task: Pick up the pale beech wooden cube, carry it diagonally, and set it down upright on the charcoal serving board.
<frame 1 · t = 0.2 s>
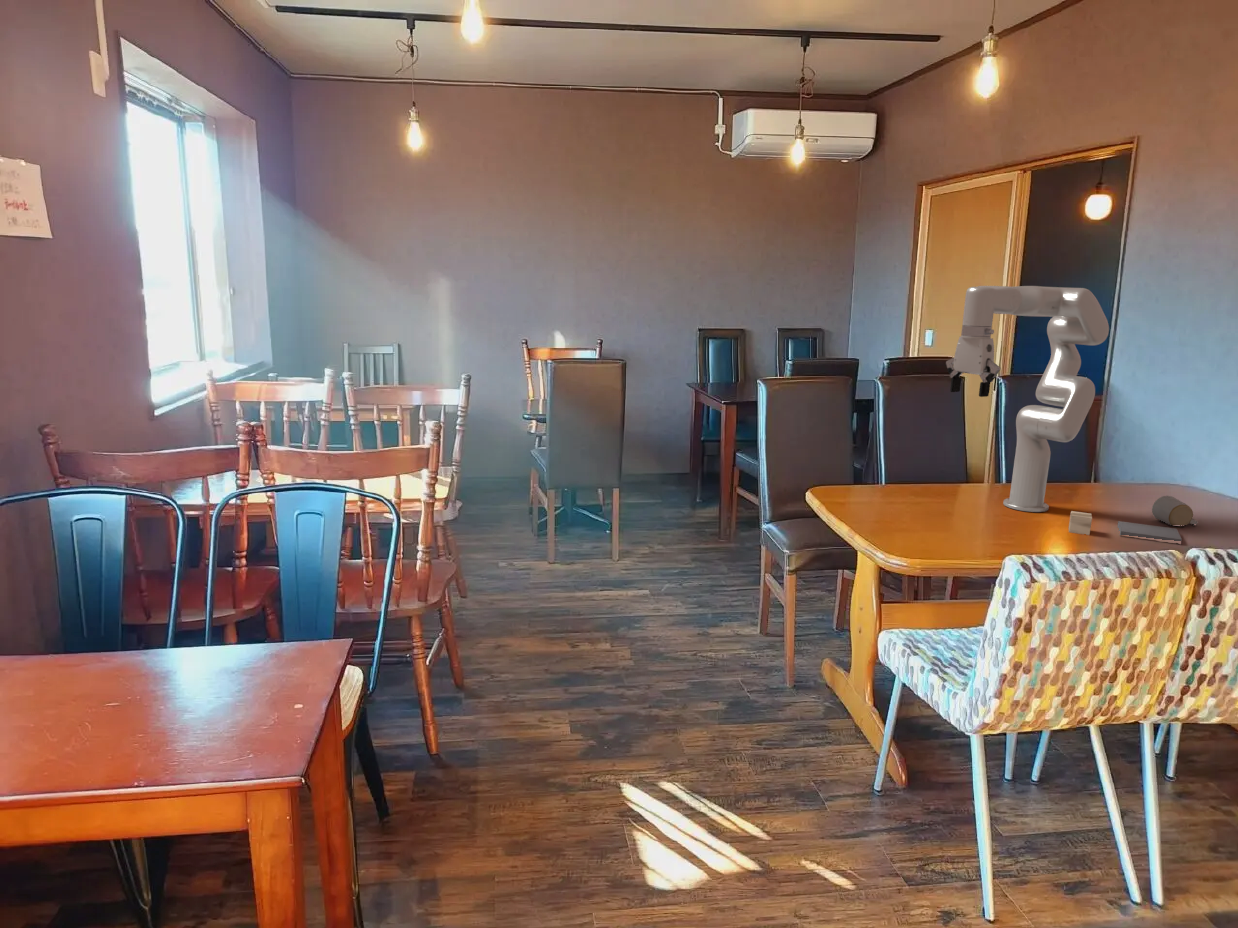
hand: (969, 394, 227), 37 cm above the table, tool pointing down, fingers open, 9 cm apart
serving board: (1148, 535, 225), on the table
beech cube: (1078, 531, 227), on the table
ceramic mug: (1174, 524, 236), on the table
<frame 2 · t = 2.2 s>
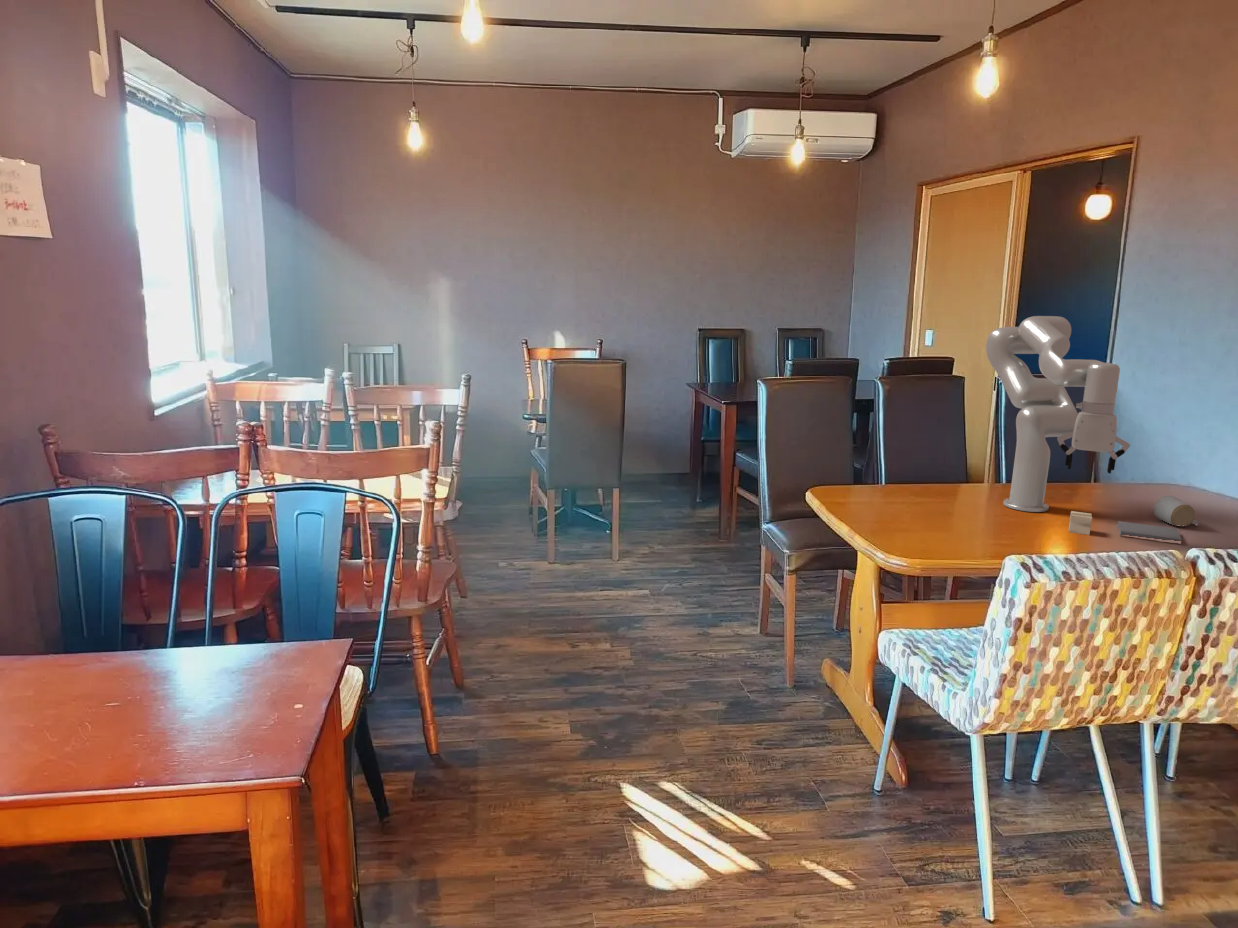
hand: (1088, 470, 223), 18 cm above the table, tool pointing down, fingers open, 9 cm apart
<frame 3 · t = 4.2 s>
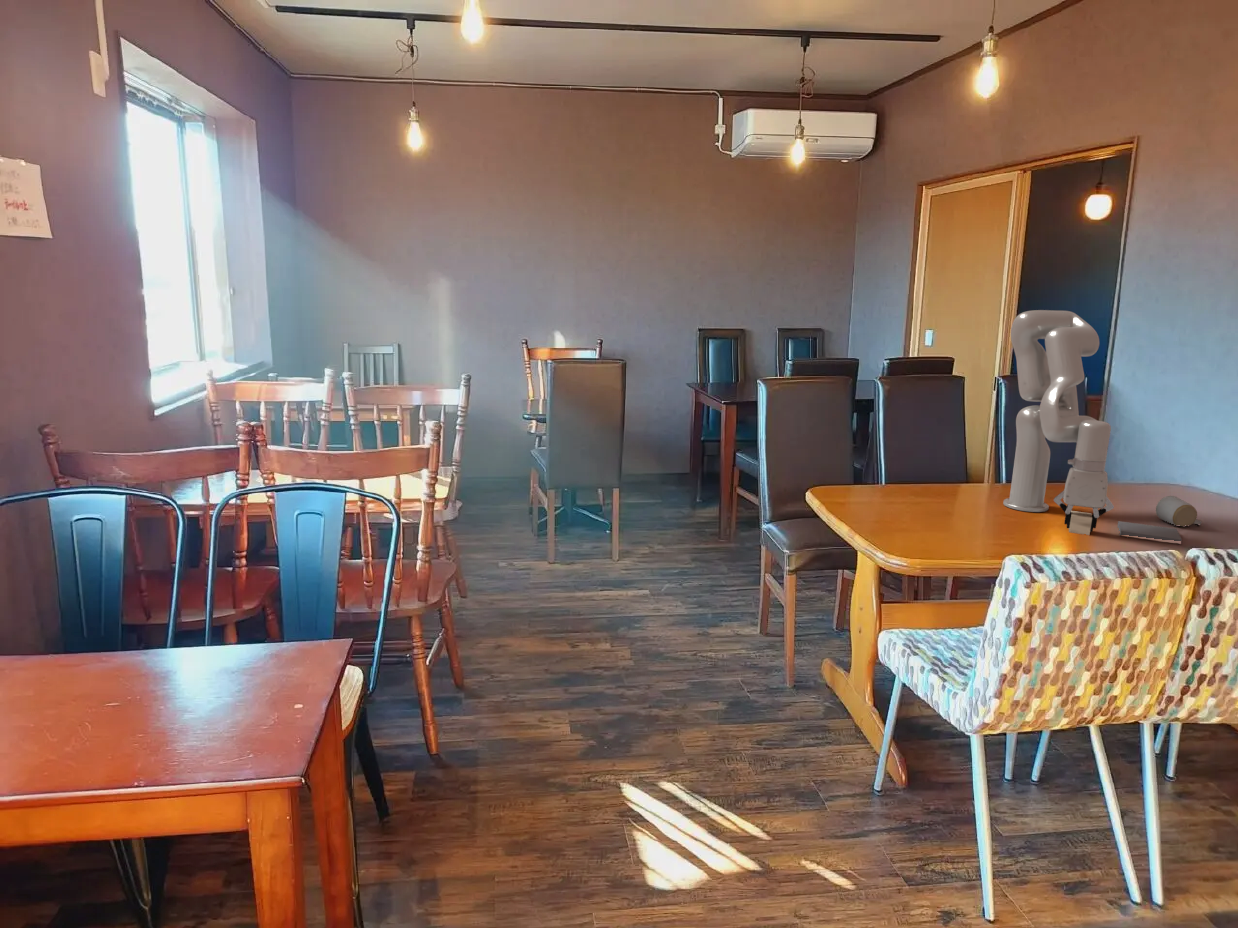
hand: (1079, 527, 227), 1 cm above the table, tool pointing down, fingers closed on beech cube, 5 cm apart
beech cube: (1078, 531, 227), on the table, touching gripper
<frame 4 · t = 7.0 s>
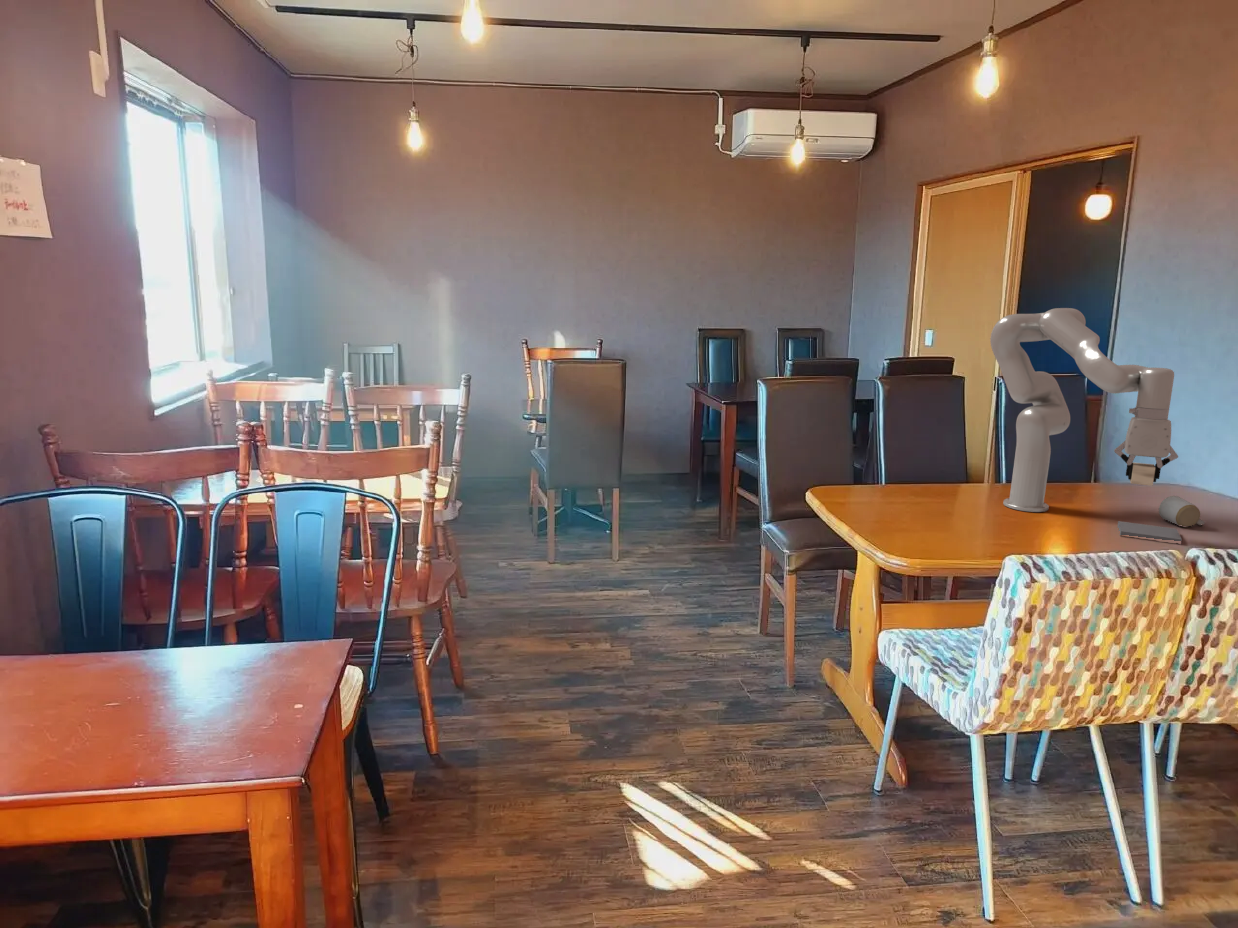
hand: (1141, 479, 221), 16 cm above the table, tool pointing down, fingers closed on beech cube, 5 cm apart
beech cube: (1141, 482, 222), point 15 cm above the table, touching gripper
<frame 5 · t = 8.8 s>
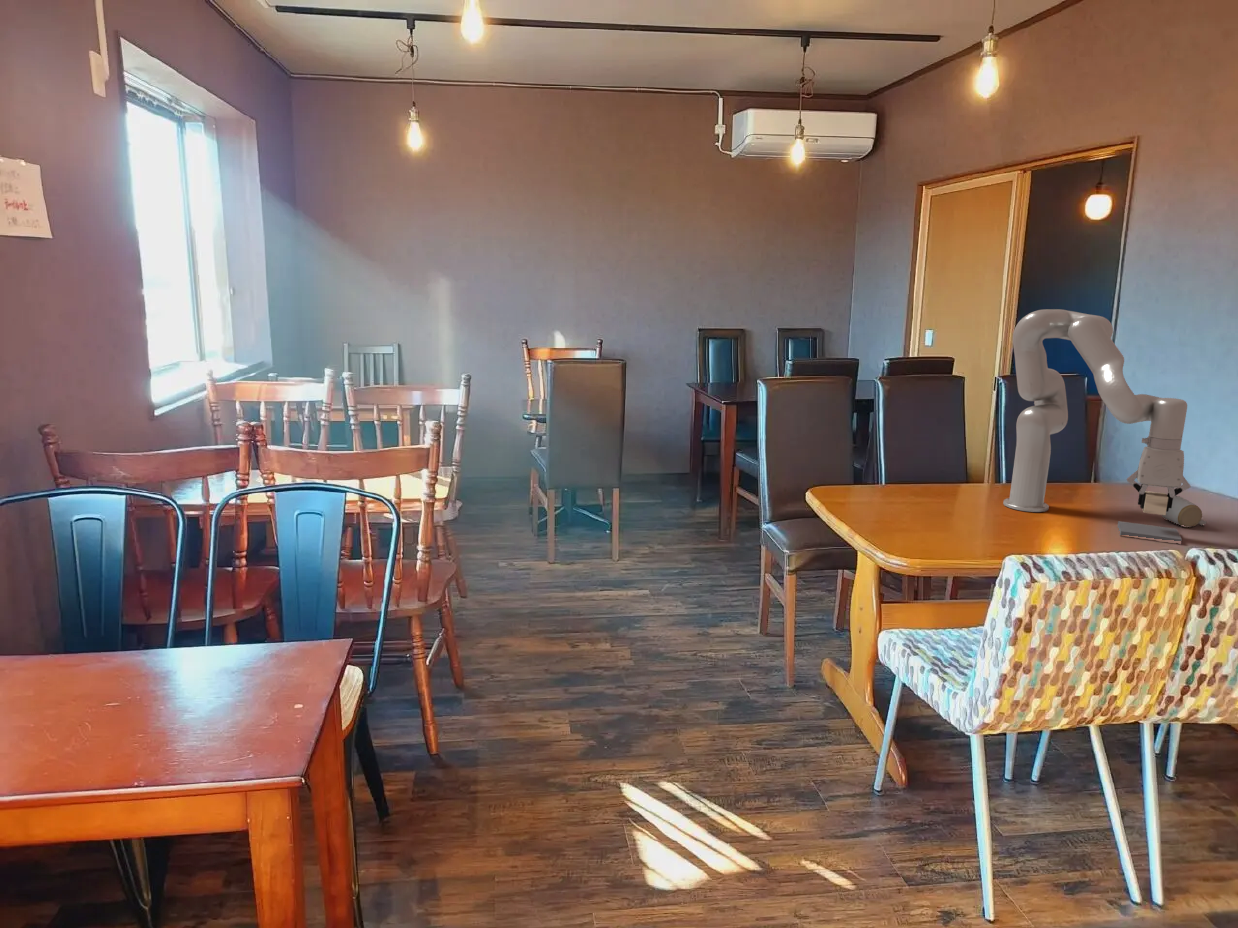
hand: (1154, 508, 223), 8 cm above the table, tool pointing down, fingers closed on beech cube, 5 cm apart
beech cube: (1153, 511, 223), point 7 cm above the table, touching gripper
when the fingers open (4 cm above the table, at t = 9.9 s): beech cube drops 1 cm, resting on serving board.
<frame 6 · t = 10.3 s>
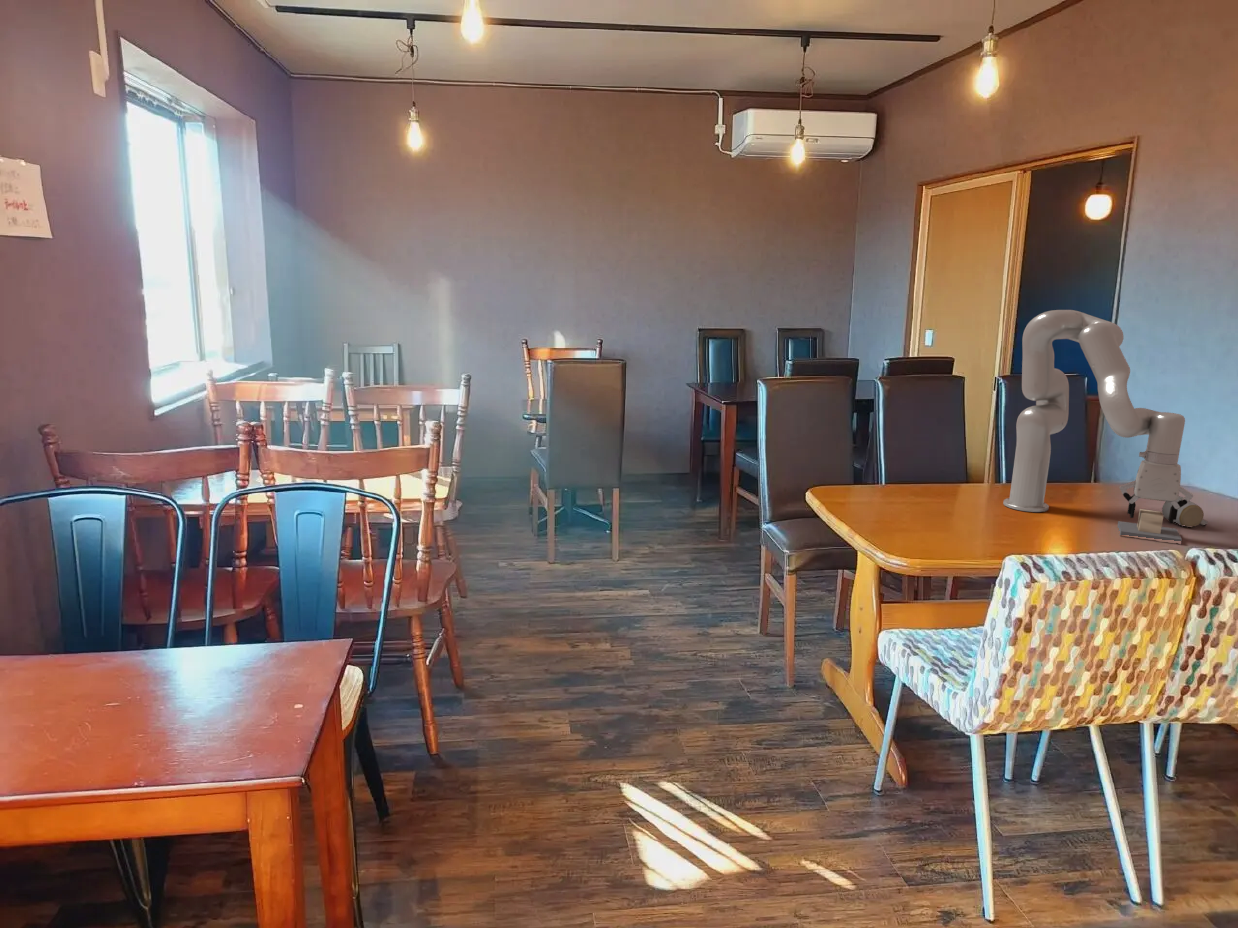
hand: (1150, 519, 224), 5 cm above the table, tool pointing down, fingers open, 8 cm apart
beech cube: (1148, 529, 225), point 1 cm above the table, touching serving board
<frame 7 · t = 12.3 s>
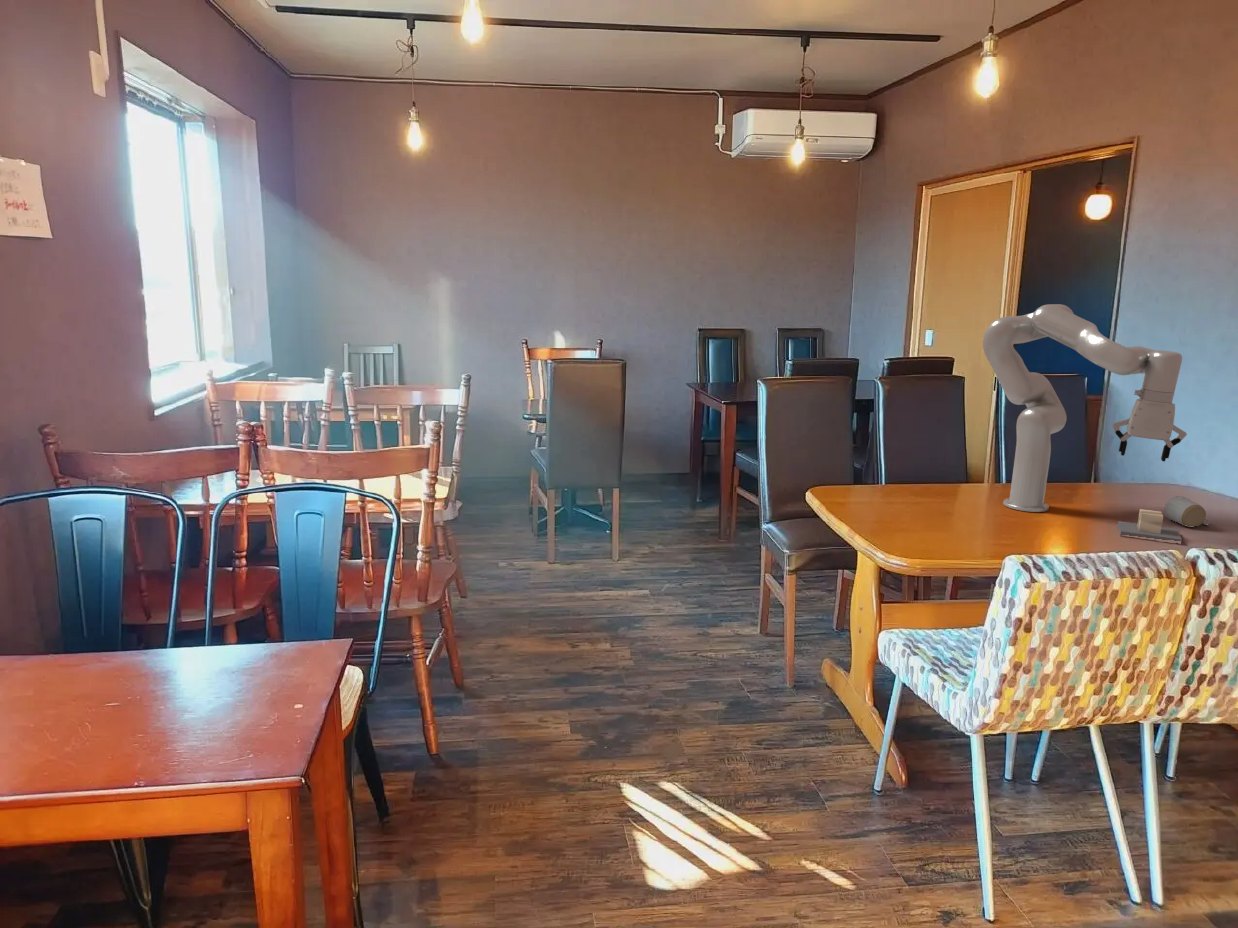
hand: (1142, 457, 225), 21 cm above the table, tool pointing down, fingers open, 9 cm apart
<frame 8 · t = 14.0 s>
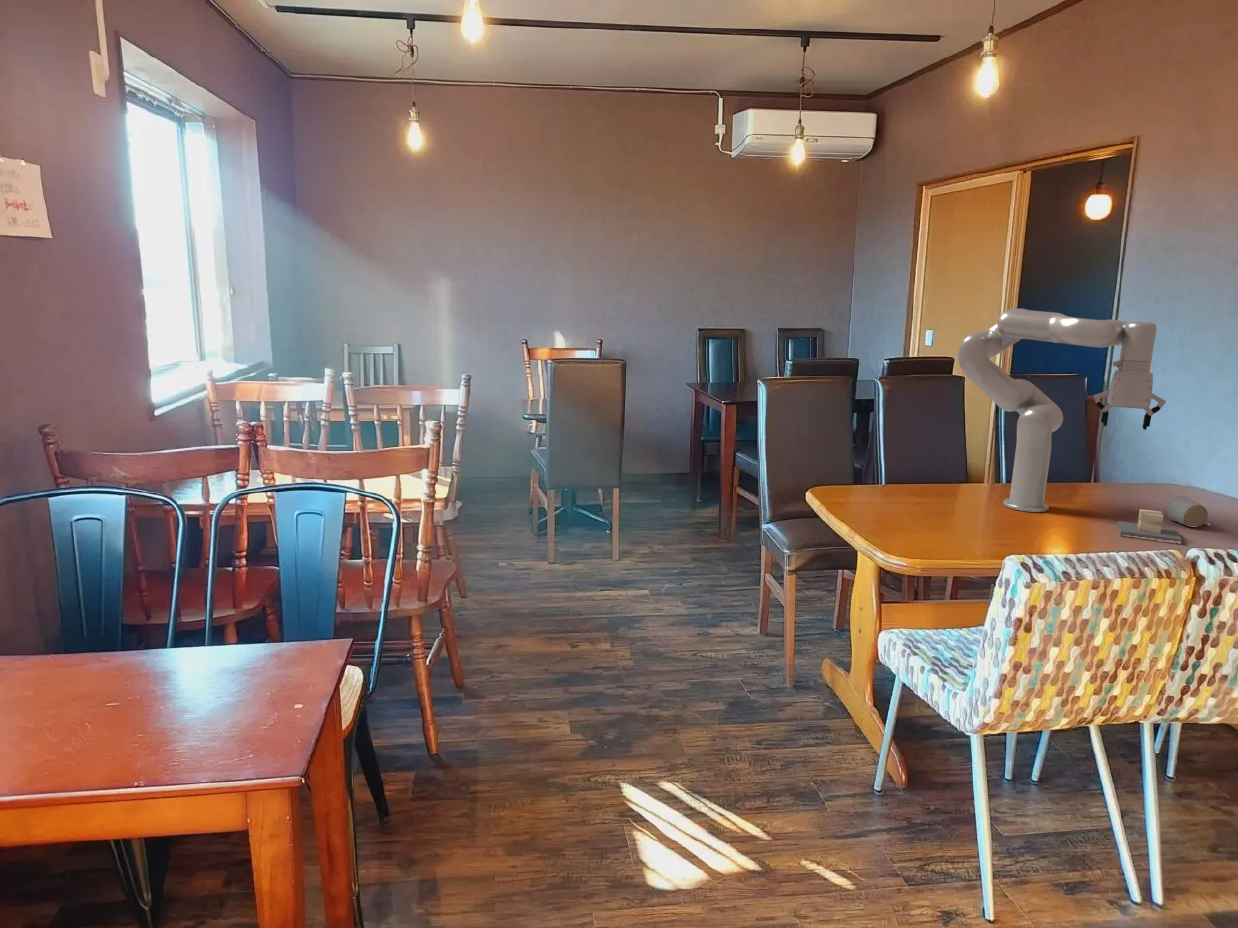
hand: (1124, 427, 229), 28 cm above the table, tool pointing down, fingers open, 9 cm apart
at the end: beech cube inside the target area on the serving board (0.1 cm from its centre), point 1.5 cm above the serving board's base; beech cube tilted 0°; the gripper is holding nothing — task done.
